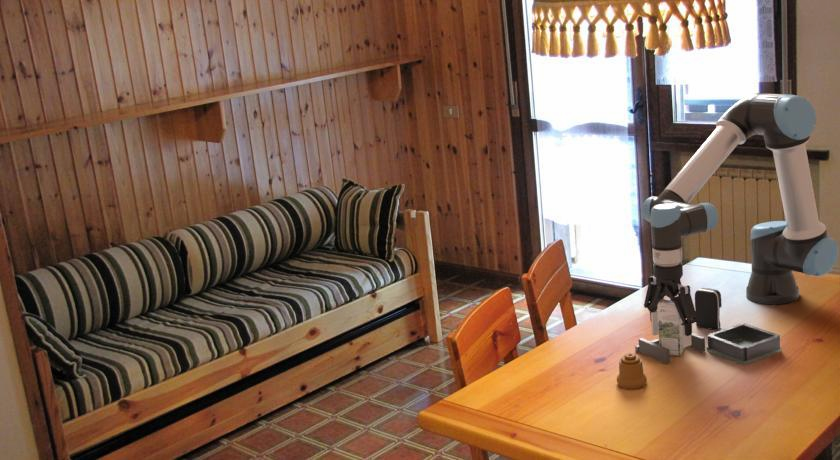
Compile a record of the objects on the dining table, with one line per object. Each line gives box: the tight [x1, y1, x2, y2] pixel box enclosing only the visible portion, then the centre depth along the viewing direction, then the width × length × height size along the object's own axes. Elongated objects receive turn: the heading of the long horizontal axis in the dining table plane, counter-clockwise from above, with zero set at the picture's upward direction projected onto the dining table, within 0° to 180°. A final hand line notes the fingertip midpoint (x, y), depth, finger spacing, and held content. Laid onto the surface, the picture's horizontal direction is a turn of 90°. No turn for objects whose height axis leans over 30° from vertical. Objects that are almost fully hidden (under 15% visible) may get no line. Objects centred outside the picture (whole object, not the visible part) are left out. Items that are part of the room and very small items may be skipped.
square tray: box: [705, 322, 783, 366], centre depth 247 cm, size 13×13×4 cm
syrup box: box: [657, 298, 685, 357], centre depth 251 cm, size 6×6×14 cm
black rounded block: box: [694, 287, 722, 331], centre depth 266 cm, size 7×4×11 cm, turn 46°
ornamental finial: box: [616, 353, 648, 390], centre depth 235 cm, size 8×8×8 cm
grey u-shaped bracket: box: [634, 332, 706, 365], centre depth 253 cm, size 13×13×4 cm
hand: (671, 339), depth 252 cm, fingers open, 11 cm apart
